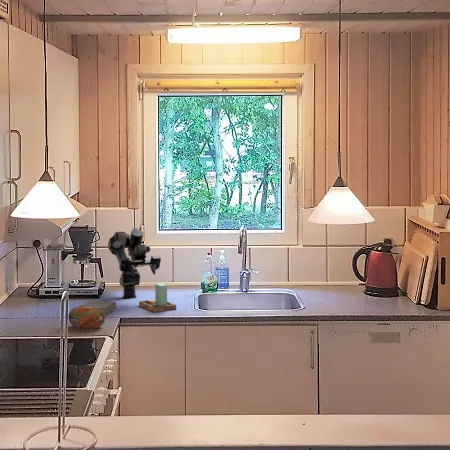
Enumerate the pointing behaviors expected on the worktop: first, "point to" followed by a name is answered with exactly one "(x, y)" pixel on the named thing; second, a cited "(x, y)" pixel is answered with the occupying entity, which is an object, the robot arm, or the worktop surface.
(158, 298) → the mint green block
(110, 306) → the plinth
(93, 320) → the tin
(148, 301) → the offcut upper
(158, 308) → the rack
